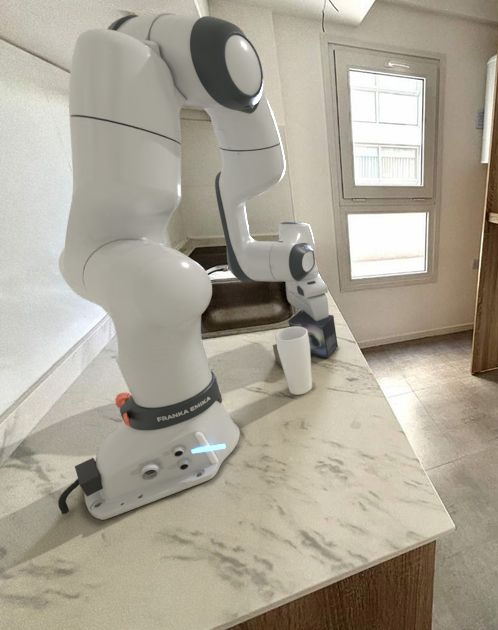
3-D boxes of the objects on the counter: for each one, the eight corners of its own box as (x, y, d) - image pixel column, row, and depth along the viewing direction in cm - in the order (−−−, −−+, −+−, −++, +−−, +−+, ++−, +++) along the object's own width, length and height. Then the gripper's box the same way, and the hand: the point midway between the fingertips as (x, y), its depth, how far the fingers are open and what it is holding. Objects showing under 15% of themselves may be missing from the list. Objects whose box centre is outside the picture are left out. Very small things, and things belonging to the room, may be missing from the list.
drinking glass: (300, 377, 82) (291, 323, 76) (321, 384, 80) (314, 330, 73) (279, 392, 77) (267, 336, 70) (301, 401, 74) (291, 343, 68)
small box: (293, 352, 92) (286, 320, 87) (307, 340, 98) (300, 309, 93) (327, 359, 90) (321, 326, 85) (339, 346, 95) (334, 314, 90)
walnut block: (283, 369, 85) (280, 352, 83) (275, 361, 88) (272, 345, 86) (301, 361, 88) (299, 345, 86) (293, 354, 92) (291, 338, 89)
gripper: (277, 273, 96) (284, 316, 102) (307, 294, 83) (314, 342, 89) (298, 269, 100) (304, 310, 106) (330, 288, 86) (335, 334, 92)
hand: (309, 325), depth 97 cm, fingers closed
